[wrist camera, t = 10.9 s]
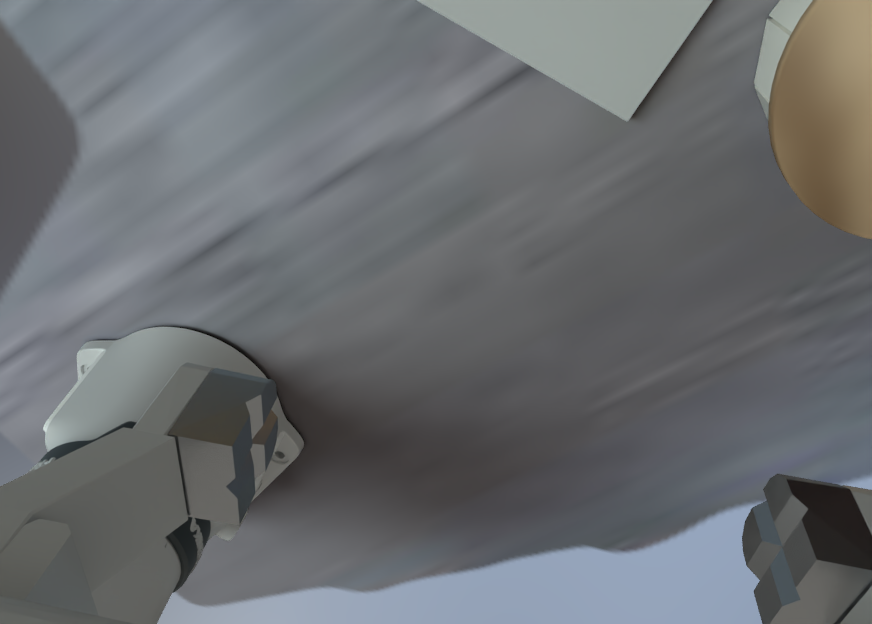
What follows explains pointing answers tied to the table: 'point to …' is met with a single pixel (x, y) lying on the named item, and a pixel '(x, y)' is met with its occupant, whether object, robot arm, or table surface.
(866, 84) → the lid
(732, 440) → the table surface
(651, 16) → the trivet
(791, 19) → the bowl
